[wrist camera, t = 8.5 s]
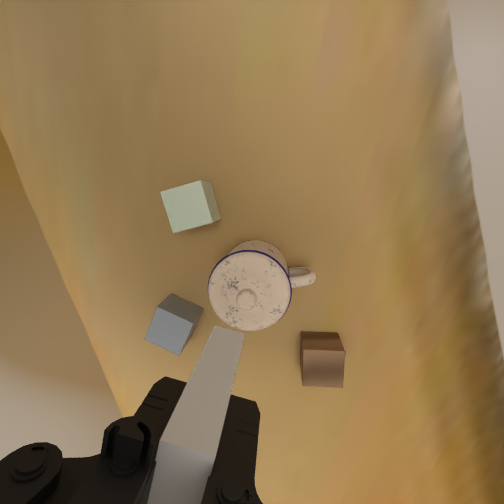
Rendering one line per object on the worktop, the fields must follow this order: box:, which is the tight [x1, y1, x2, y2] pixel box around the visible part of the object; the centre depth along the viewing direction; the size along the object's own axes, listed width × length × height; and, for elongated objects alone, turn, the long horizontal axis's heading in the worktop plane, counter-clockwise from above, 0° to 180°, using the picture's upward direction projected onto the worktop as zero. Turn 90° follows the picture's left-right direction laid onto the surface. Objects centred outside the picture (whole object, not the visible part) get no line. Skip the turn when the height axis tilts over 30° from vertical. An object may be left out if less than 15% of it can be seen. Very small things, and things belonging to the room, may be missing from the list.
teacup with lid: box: [208, 240, 316, 331], centre depth 35 cm, size 12×9×12 cm
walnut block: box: [300, 331, 345, 388], centre depth 40 cm, size 5×5×5 cm
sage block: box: [160, 180, 221, 233], centre depth 37 cm, size 5×5×5 cm
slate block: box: [144, 294, 203, 355], centre depth 41 cm, size 5×5×5 cm
